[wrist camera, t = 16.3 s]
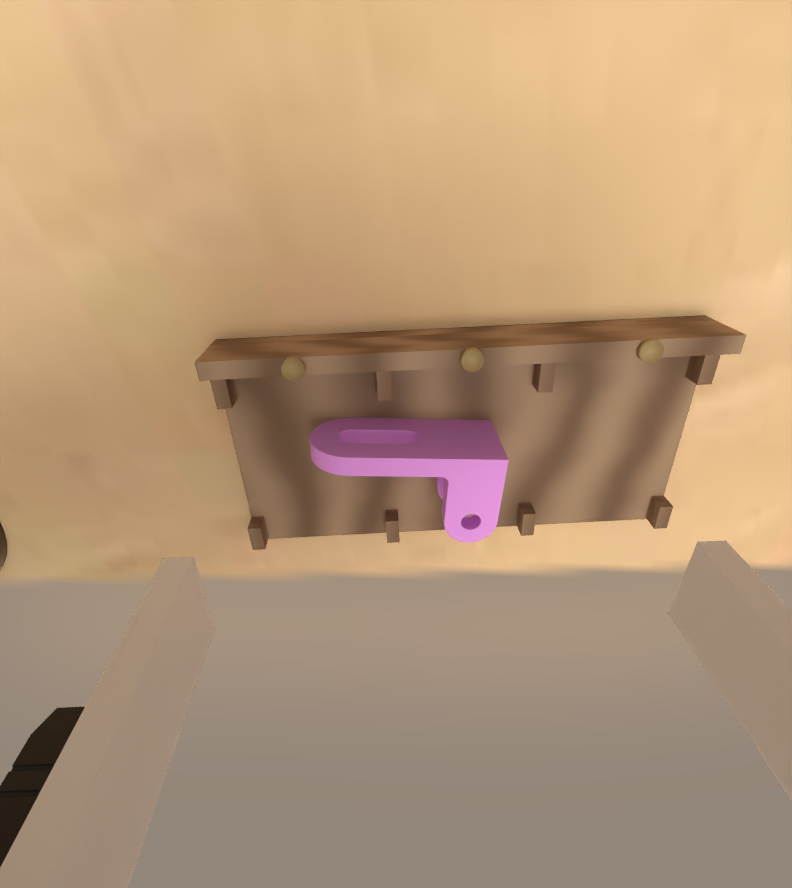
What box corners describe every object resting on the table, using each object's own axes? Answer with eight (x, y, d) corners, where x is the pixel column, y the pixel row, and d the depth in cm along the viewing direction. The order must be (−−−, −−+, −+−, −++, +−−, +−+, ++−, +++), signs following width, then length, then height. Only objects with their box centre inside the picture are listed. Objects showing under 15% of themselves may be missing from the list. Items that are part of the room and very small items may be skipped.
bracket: (508, 459, 31) (493, 542, 35) (491, 420, 36) (479, 496, 39) (304, 457, 30) (310, 541, 34) (314, 416, 35) (318, 494, 39)
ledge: (260, 529, 42) (246, 572, 38) (215, 338, 33) (190, 364, 29) (649, 509, 42) (680, 549, 38) (705, 314, 34) (753, 336, 29)
